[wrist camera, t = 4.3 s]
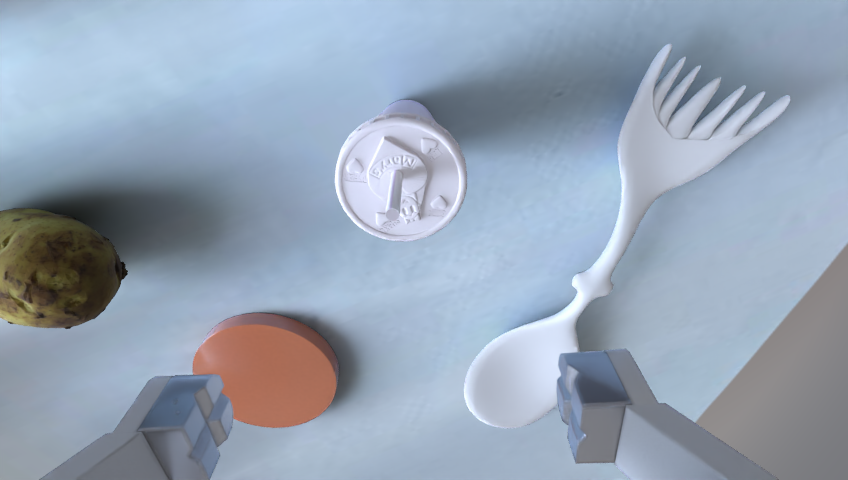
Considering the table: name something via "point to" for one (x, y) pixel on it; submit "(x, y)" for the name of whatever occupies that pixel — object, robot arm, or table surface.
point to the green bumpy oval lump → (54, 269)
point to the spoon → (614, 233)
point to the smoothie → (401, 174)
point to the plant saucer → (270, 368)
